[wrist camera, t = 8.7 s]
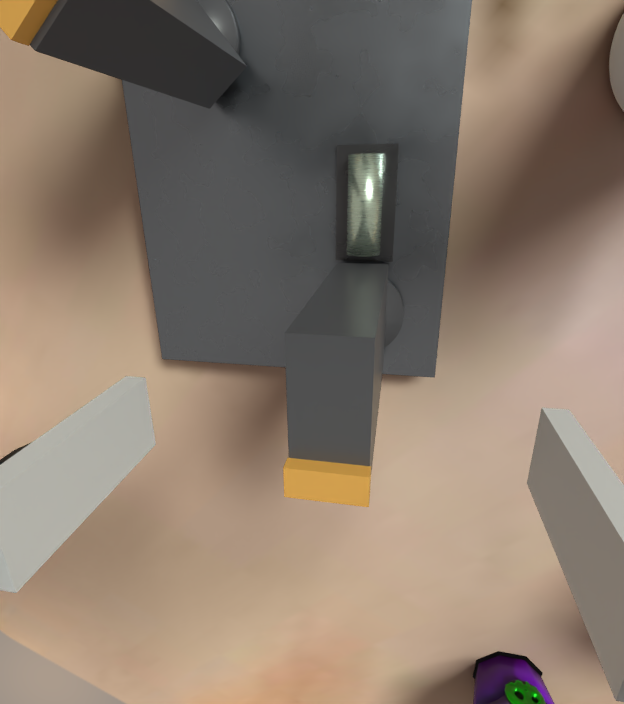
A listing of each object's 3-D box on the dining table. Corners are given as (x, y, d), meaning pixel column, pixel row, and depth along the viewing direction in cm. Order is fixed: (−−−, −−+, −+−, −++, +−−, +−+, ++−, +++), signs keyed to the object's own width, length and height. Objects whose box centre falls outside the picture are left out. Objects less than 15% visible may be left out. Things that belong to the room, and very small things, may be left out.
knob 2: (322, 259, 26) (247, 337, 14) (407, 261, 25) (409, 346, 13) (322, 355, 28) (258, 498, 16) (400, 360, 27) (396, 515, 15)
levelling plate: (126, -31, 24) (79, -65, 21) (474, -67, 21) (487, -114, 18) (176, 348, 32) (148, 369, 29) (432, 364, 29) (436, 390, 26)
